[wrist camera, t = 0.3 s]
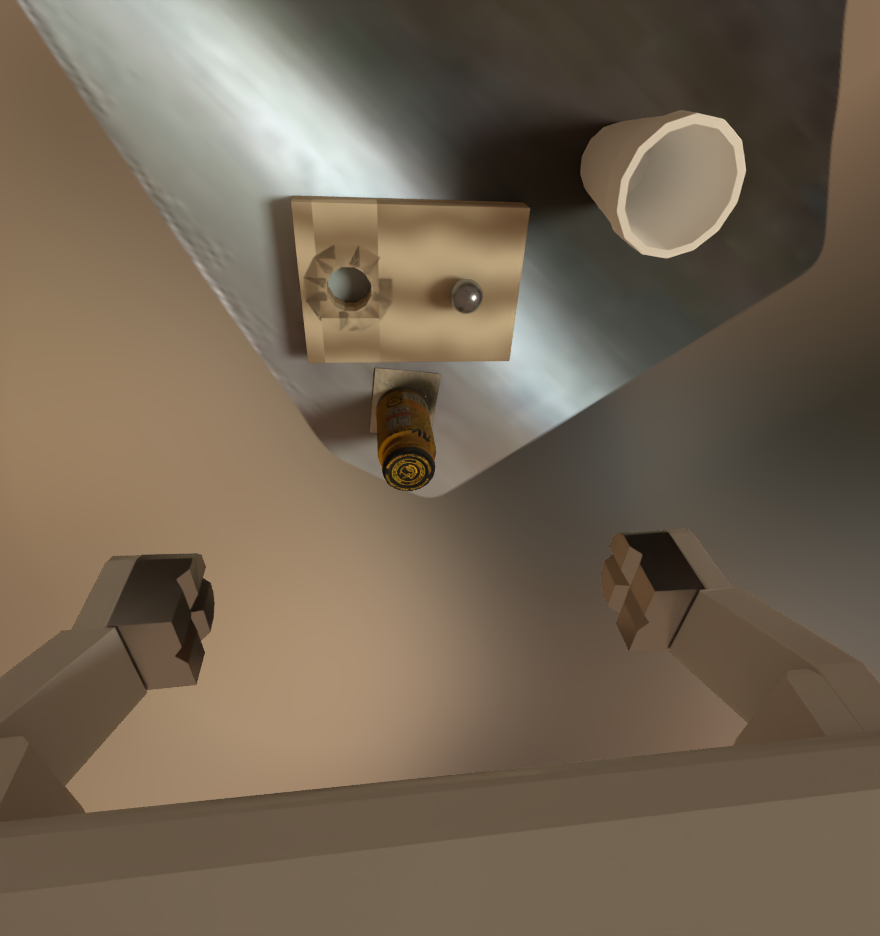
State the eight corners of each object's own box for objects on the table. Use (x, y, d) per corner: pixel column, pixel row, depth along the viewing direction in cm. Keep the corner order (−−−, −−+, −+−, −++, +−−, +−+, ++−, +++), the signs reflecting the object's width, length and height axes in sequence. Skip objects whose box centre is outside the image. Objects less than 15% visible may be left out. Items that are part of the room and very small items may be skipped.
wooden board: (293, 195, 48) (290, 201, 46) (523, 202, 50) (530, 208, 48) (310, 352, 57) (308, 362, 55) (504, 350, 59) (509, 360, 57)
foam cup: (682, 114, 48) (770, 130, 37) (640, 224, 53) (708, 265, 43) (582, 91, 46) (647, 101, 35) (550, 208, 51) (598, 246, 41)
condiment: (369, 431, 64) (371, 497, 54) (375, 367, 59) (378, 426, 49) (430, 435, 65) (442, 500, 56) (440, 372, 60) (455, 431, 51)
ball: (448, 273, 51) (452, 285, 49) (481, 274, 51) (487, 285, 49) (446, 306, 53) (450, 319, 50) (478, 306, 53) (484, 319, 51)
